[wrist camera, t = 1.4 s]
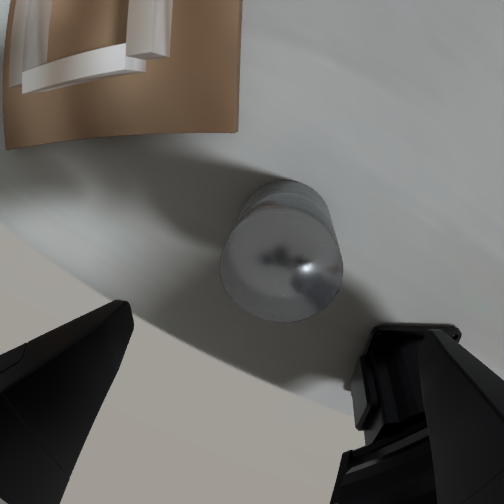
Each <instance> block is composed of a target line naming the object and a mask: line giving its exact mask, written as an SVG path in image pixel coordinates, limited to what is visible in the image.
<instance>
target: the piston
mask: <svg viewBox="0 0 504 504" xmlns="http://www.w3.org/2000/svg"><path fill="white" fill-rule="evenodd" d="M220 275H221V279H222V283H223V285H224V288H225V289H226V291H227V293H228V295H229V296H230V297H231V299H232V300H233V301H234V302H235V303H236V304H237V305H238V306H239V307H240V308H242V309H243V310H244V311H246V312H247V313H249V314H251V315H253V316H255V317H257V318H260V319H263V320H267V321H272V322H294V321H299V320H303V319H306V318H308V317H311V316H313V315H315V314H316V313H318V312H320V311H321V310H322V309H324V308H325V307H326V306H327V305H328V304H329V303H330V302H331V301H332V300H333V298H334V297H335V295H336V294H337V292H338V290H339V287H340V285H341V281H342V276H343V262H342V257H341V253H340V249H339V246H338V242H337V238H336V234H335V231H334V227H333V224H332V220H331V216H330V213H329V210H328V207H327V205H326V203H325V201H324V200H323V199H322V197H321V196H320V195H319V194H318V193H317V192H316V191H315V190H313V189H312V188H311V187H309V186H307V185H305V184H303V183H300V182H296V181H290V180H280V181H274V182H271V183H268V184H266V185H264V186H262V187H260V188H259V189H258V190H256V191H255V192H254V193H253V194H252V195H251V196H250V198H249V199H248V200H247V202H246V204H245V206H244V208H243V210H242V212H241V214H240V216H239V218H238V220H237V222H236V224H235V226H234V228H233V230H232V232H231V234H230V236H229V238H228V240H227V242H226V244H225V246H224V249H223V251H222V254H221V259H220Z"/></svg>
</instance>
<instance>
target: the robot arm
mask: <svg viewBox="0 0 504 504" xmlns="http://www.w3.org/2000/svg"><path fill="white" fill-rule="evenodd" d="M133 329H134V321H133V316H132V312H131V307H130V304H129V302H127V301H123V300H114V301H112V302H110V303H108V304H106V305H104V306H102V307H100V308H97V309H95V310H93V311H91V312H89V313H87V314H85V315H83V316H81V317H79V318H76V319H74V320H72V321H70V322H68V323H66V324H64V325H62V326H60V327H58V328H56V329H54V330H51V331H49V332H47V333H45V334H43V335H41V336H39V337H37V338H35V339H33V340H31V341H29V342H28V343H25V344H23V345H21V346H18V347H17V348H14V349H12V350H10V351H8V352H6V353H4V354H1V355H0V504H60V502H61V499H62V497H63V494H64V491H65V489H66V486H67V484H68V482H69V479H70V476H71V474H72V471H73V469H74V466H75V464H76V462H77V459H78V457H79V454H80V452H81V450H82V448H83V445H84V443H85V441H86V438H87V436H88V434H89V431H90V429H91V427H92V425H93V423H94V421H95V418H96V416H97V414H98V412H99V410H100V408H101V405H102V403H103V401H104V399H105V397H106V395H107V393H108V390H109V388H110V386H111V384H112V382H113V380H114V378H115V376H116V374H117V372H118V370H119V367H120V364H121V362H122V359H123V356H124V354H125V351H126V348H127V345H128V343H129V340H130V337H131V335H132V332H133ZM379 333H382V334H381V335H377V334H379ZM461 335H462V334H461V332H460V330H459V329H458V328H441V327H397V326H377V327H375V328H374V329H373V330H372V332H371V334H370V338H369V341H368V344H367V347H366V350H365V353H364V355H361V356H360V357H359V359H358V362H357V365H356V368H355V371H354V374H353V377H352V380H351V396H352V398H353V408H354V418H355V427H356V429H357V430H358V431H364V435H365V445H366V446H363V447H361V448H358V449H356V450H349V451H347V452H344V453H343V454H342V458H341V462H340V467H339V471H338V475H337V479H336V483H335V486H334V490H333V494H332V497H331V501H330V504H504V380H502V379H501V378H500V377H499V376H498V375H496V374H495V373H494V372H493V371H492V370H490V369H489V368H488V367H487V366H486V365H484V364H483V363H482V362H481V361H479V360H478V359H477V358H476V357H475V356H473V355H472V354H471V353H470V352H468V351H467V350H466V349H465V348H463V347H462V346H461V345H460V344H458V342H459V340H460V338H461Z"/></svg>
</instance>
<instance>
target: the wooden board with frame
mask: <svg viewBox="0 0 504 504" xmlns="http://www.w3.org/2000/svg"><path fill="white" fill-rule="evenodd" d="M241 23H242V0H11V2H10V9H9V15H8V22H7V31H6V40H5V52H4V70H3V114H4V133H5V146H6V150H10V149H15V148H21V147H27V146H33V145H40V144H46V143H53V142H61V141H69V140H77V139H87V138H97V137H108V136H121V135H137V134H158V133H235V132H238V115H239V80H240V50H241Z"/></svg>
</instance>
